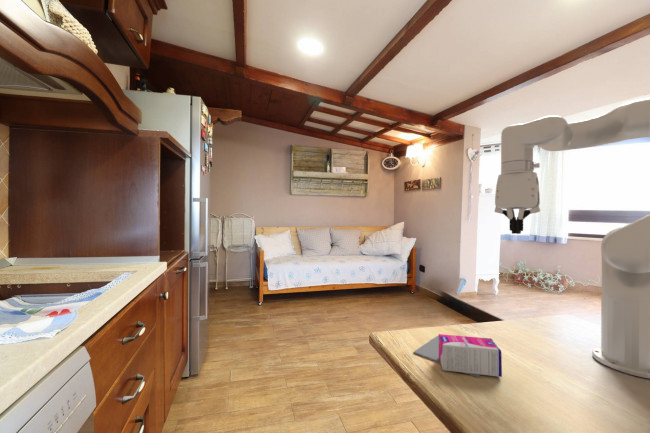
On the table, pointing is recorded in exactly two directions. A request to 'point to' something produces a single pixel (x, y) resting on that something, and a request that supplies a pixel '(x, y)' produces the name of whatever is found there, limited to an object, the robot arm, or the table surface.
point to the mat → (433, 352)
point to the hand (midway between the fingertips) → (516, 233)
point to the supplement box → (470, 355)
